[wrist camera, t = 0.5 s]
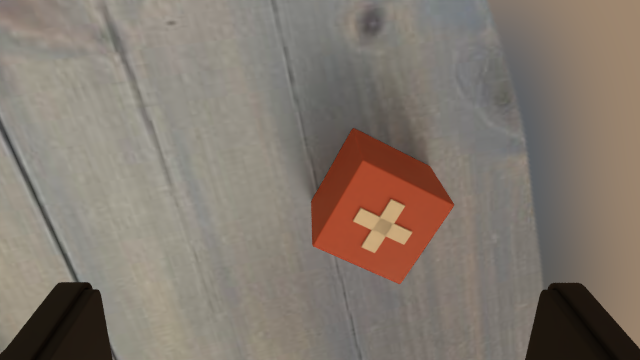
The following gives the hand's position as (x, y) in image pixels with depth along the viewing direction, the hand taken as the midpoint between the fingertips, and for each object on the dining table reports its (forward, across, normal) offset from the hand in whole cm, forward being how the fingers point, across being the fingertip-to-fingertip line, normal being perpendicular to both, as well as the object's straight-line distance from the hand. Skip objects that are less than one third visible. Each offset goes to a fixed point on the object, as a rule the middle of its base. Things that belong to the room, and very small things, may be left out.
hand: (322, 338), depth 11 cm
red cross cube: (+15, -3, +3) cm, 16 cm away
